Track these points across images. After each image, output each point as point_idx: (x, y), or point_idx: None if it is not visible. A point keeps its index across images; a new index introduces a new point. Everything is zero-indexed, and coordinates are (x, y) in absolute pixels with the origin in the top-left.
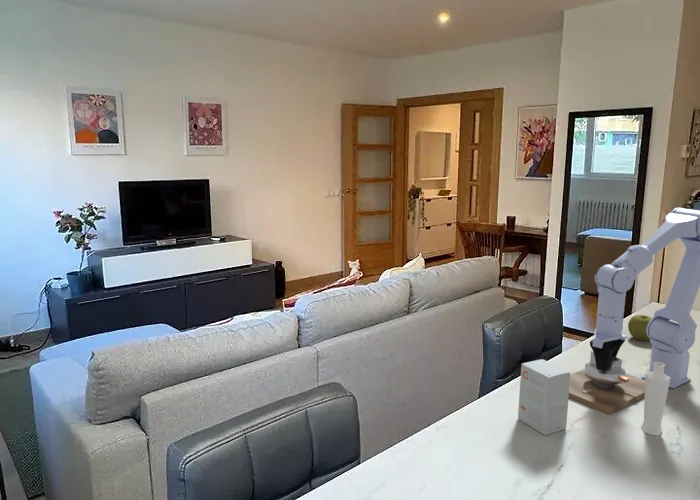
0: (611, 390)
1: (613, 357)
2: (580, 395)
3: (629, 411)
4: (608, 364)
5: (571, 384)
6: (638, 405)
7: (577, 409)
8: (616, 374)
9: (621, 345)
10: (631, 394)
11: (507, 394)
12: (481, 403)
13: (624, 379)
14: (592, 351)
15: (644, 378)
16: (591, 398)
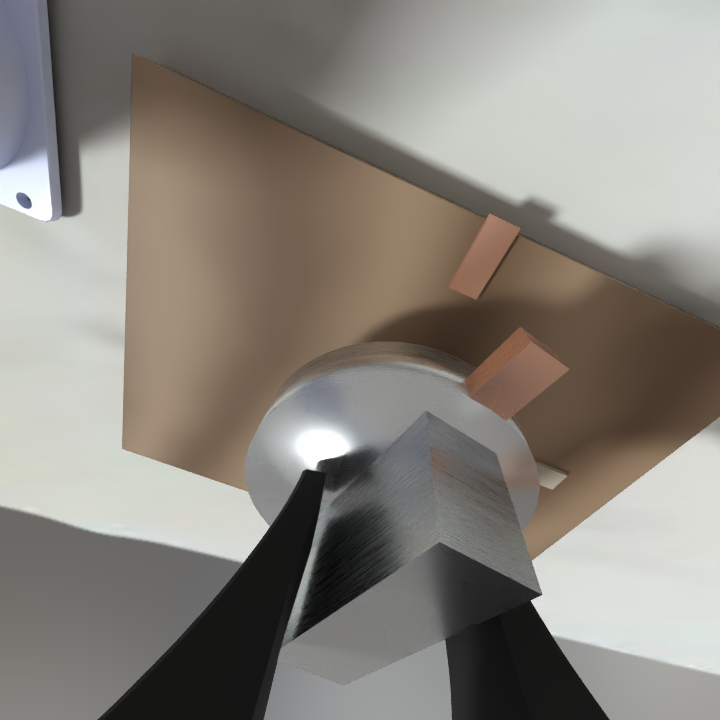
0: None
1: (404, 595)
2: (599, 488)
3: (680, 239)
4: None
5: None
6: (552, 190)
7: (707, 469)
8: (467, 434)
9: (143, 694)
10: (487, 259)
11: (612, 629)
12: (710, 665)
13: (558, 374)
14: (347, 682)
15: (60, 198)
16: (626, 449)
